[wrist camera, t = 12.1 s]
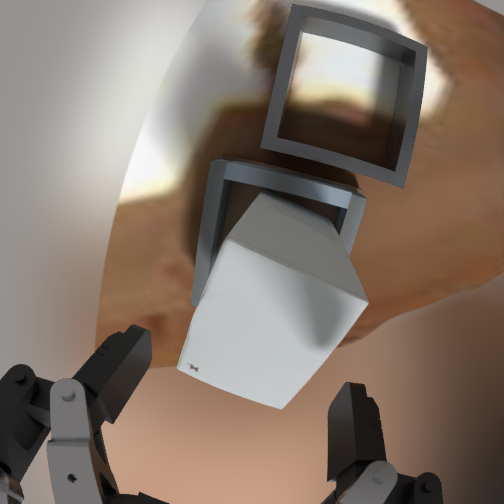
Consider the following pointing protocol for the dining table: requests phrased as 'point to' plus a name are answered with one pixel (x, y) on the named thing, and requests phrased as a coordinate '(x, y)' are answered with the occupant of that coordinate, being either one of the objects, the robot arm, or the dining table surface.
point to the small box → (273, 303)
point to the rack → (246, 191)
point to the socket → (367, 38)
